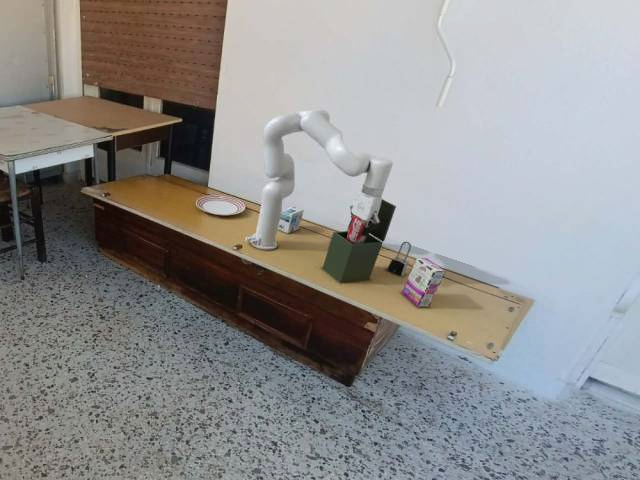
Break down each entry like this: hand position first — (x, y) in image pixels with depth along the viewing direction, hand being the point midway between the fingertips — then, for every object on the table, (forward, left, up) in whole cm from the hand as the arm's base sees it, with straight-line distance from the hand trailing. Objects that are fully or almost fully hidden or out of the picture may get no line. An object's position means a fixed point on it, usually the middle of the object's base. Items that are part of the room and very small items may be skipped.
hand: (358, 231), depth 189 cm
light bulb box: (+1, +47, -21) cm, 51 cm away
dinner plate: (-24, +78, -21) cm, 84 cm away
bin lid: (+7, 0, +5) cm, 9 cm away
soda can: (0, 0, -5) cm, 5 cm away
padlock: (+25, -3, -21) cm, 32 cm away
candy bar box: (+16, -24, -21) cm, 35 cm away
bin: (+1, 0, -21) cm, 21 cm away
